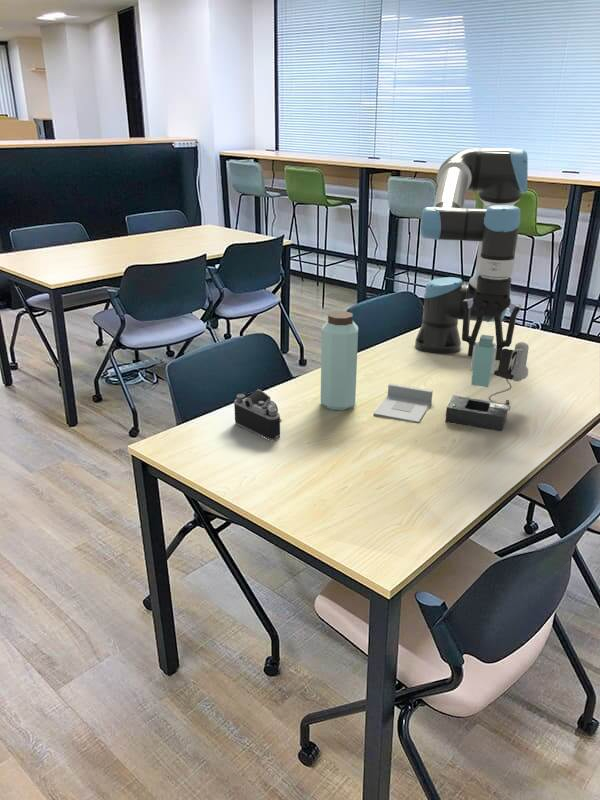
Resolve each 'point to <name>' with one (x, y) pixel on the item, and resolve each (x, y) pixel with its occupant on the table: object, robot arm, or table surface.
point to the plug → (483, 361)
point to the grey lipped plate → (405, 403)
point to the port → (477, 413)
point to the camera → (258, 414)
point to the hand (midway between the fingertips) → (482, 370)
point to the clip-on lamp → (513, 365)
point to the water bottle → (339, 361)
